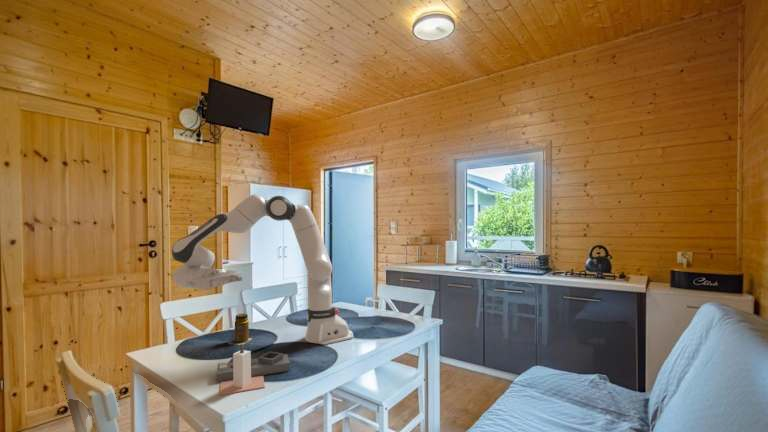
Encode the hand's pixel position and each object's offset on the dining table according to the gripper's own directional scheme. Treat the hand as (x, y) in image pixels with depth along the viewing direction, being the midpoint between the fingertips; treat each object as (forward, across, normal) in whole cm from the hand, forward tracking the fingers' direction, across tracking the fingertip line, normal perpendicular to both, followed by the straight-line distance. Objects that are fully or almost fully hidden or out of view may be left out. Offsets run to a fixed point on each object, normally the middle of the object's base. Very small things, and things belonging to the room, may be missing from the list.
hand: (232, 281), depth 146 cm
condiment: (-14, +18, +32) cm, 39 cm away
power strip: (+14, -5, +32) cm, 35 cm away
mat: (+19, -15, +32) cm, 40 cm away
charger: (+19, -15, +32) cm, 40 cm away
